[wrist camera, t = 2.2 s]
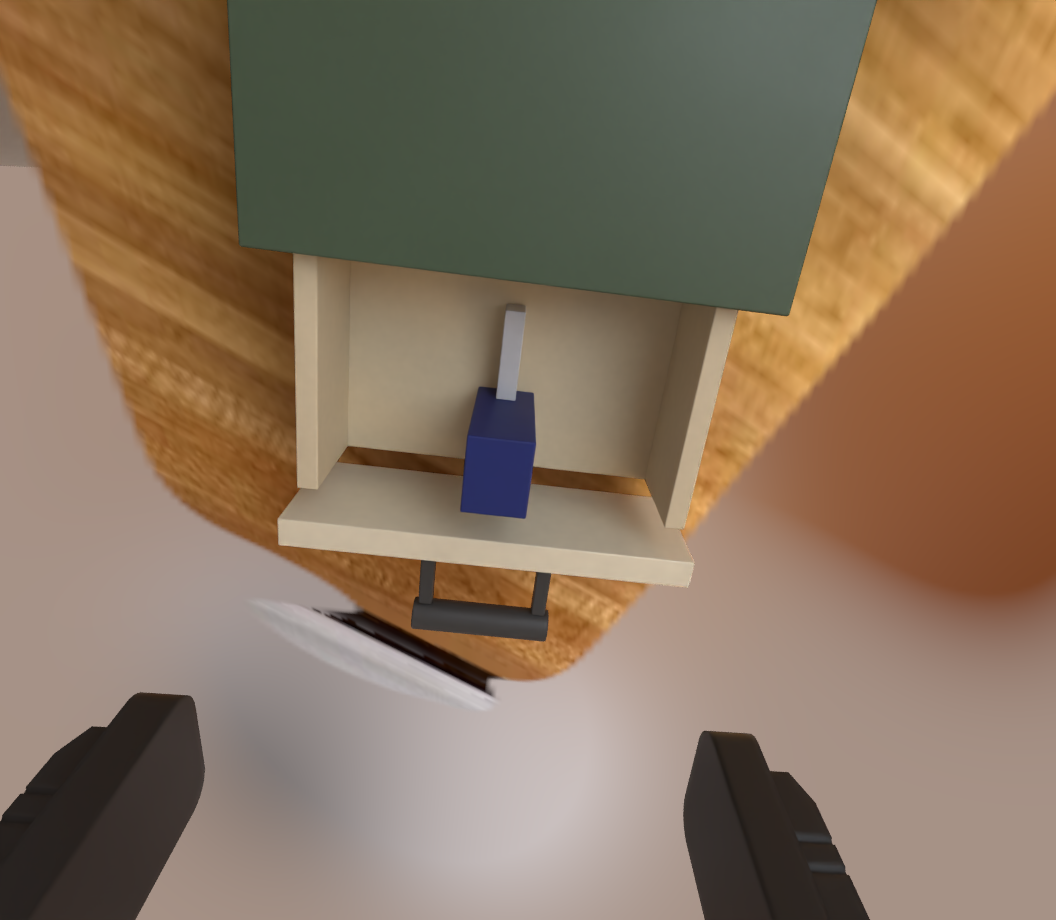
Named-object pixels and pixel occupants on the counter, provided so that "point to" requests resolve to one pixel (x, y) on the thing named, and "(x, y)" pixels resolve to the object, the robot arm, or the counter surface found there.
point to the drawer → (445, 413)
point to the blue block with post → (501, 435)
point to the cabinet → (546, 137)
